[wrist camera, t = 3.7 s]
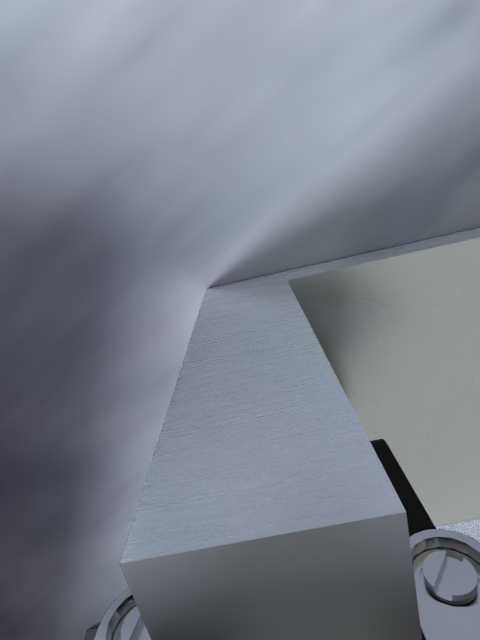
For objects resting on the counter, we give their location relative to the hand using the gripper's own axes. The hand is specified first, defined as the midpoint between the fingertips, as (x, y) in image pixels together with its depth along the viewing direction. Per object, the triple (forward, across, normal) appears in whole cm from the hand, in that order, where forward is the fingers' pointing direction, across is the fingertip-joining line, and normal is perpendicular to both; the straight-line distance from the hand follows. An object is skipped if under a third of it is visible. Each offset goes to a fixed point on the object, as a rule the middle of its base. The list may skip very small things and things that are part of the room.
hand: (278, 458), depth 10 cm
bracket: (+2, -4, 0) cm, 4 cm away
